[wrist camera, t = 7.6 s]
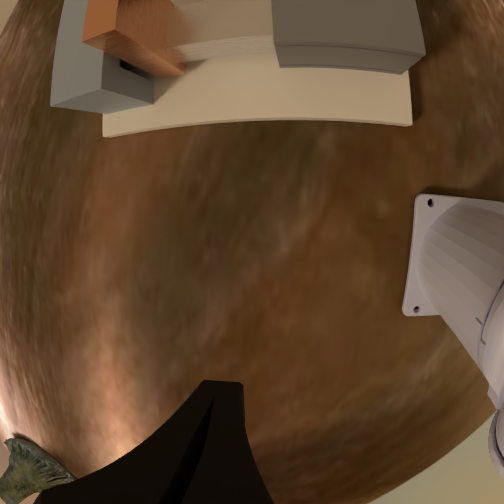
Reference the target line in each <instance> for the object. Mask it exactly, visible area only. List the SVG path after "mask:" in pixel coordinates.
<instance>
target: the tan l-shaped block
mask: <svg viewBox="0 0 504 504" xmlns="http://www.w3.org/2000/svg"><path fill="white" fill-rule="evenodd" d="M82 42H83V43H85V44H88V45H90V46H92V47H95V48H97V49H99V50H102V51H104V52H106V53H108V54H111V55H113V56H115V57H117V58H119V59H120V65H119V67H121V68H123V69H125V70H128V71H130V72H132V73H136V72H140V71H146V72H148V73H150V74H152V75H154V76H156V77H158V78H160V79H163V78H168V77H174V76H179V75H185V74H186V62H190V61H197V60H203V59H211V58H219V57H228V56H238V55H250V54H266V53H276V50H275V45H274V42H273V22H272V5H271V0H209V1H203V2H197V3H192V4H187V5H182V6H178V7H176V6H175V5H174V4H173V3H172V2H171V1H170V0H89V1H88V6H87V11H86V16H85V22H84V29H83V35H82Z"/></svg>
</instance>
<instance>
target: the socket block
mask: <svg viewBox="0 0 504 504" xmlns="http://www.w3.org/2000/svg"><path fill="white" fill-rule="evenodd" d="M88 1H89V0H65V2H64V6H63V10H62V15H61V20H60V25H59V31H58V36H57V43H56V49H55V57H54V65H53V75H52V86H51V102H50V106H53V107H61V108H69V109H77V110H84V111H90V112H97V113H103V114H111V113H115V112H119V111H124V110H128V109H133V108H138V107H143V106H148V105H153V104H154V82H152V81H150V80H148V79H146V78H143V77H141V76H139V75H137V74H135V73H132V72H130V71H128V70H125V69H123V68H121V67H119V65H120V59H119V58H117V57H115V56H113V55H111V54H108V53H106V52H104V51H102V50H99V49H97V48H95V47H92V46H90V45H88V44H85V43H83V42H82V35H83V29H84V22H85V16H86V11H87V6H88Z"/></svg>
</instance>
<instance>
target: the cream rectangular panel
mask: <svg viewBox="0 0 504 504" xmlns="http://www.w3.org/2000/svg"><path fill="white" fill-rule="evenodd" d="M170 1H171V2H172V3H173V4H174V5H175V6H176V7H178V6H182V5H187V4H192V3H197V2H203V1H209V0H170ZM271 5H272V22H273V42H274V45H275V50H276V53H266V54H250V55H238V56H228V57H219V58H211V59H203V60H197V61H190V62H186V74H185V75H179V76H174V77H168V78H163V79H160V78H158V77H156V76H154V75H152V74H150V73H148V72H146V71H140V72H136V73H135V74H137V75H139V76H141V77H143V78H146V79H148V80H150V81H152V82H154V104H153V105H148V106H143V107H138V108H133V109H128V110H124V111H119V112H115V113H111V114H103V137H116V136H121V135H127V134H133V133H139V132H145V131H151V130H158V129H166V128H173V127H182V126H191V125H201V124H212V123H224V122H240V121H262V120H328V121H350V122H365V123H377V124H388V125H398V126H406V127H407V126H410V125H412V108H411V94H410V83H409V74H408V69H409V68H410V67H411V66H413V65H414V64H415V63H416V62H417V61H419V60H420V59H421V58H422V57H424V56H425V55H426V50H425V45H424V39H423V34H422V29H421V24H420V19H419V15H418V10H417V6H416V2H415V0H271Z"/></svg>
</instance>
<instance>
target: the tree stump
mask: <svg viewBox="0 0 504 504" xmlns="http://www.w3.org/2000/svg"><path fill="white" fill-rule="evenodd" d="M4 443H5V444H6V445H7V448H8V450H9V452H10V453H11V455H10V457H9V466H8V468H7V470H6V471H5V473H4V474H3V476H2V477H1V478H0V497H1V499H2V500H3V501H4V502H5V503H6V504H19V503H20V502H21V501H22V500H24V499H25V498H26V497H28V496H29V495H31V494H33V493H37V492H39V493H41V491H42V490H44V489H49V488H52V487H56V486H59V485H62V484H66V483H69V482H72V481H75V480H76V478H75V477H74V476H73V475H72V474H71V473H70V472H69V471H68V470H67V469H66V468H65V467H64V466H63V465H61V464H60V463H59V462H58V461H57V460H56V459H54V458H53V457H52V456H51V455H49V454H48V453H47V452H45V451H44V450H43V449H41V448H40V447H39V446H37V445H36V444H35V443H33V442H31V441H29V440H28V439H14V438H10V439H8V440H6V442H4ZM61 469H62V470H61Z"/></svg>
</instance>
